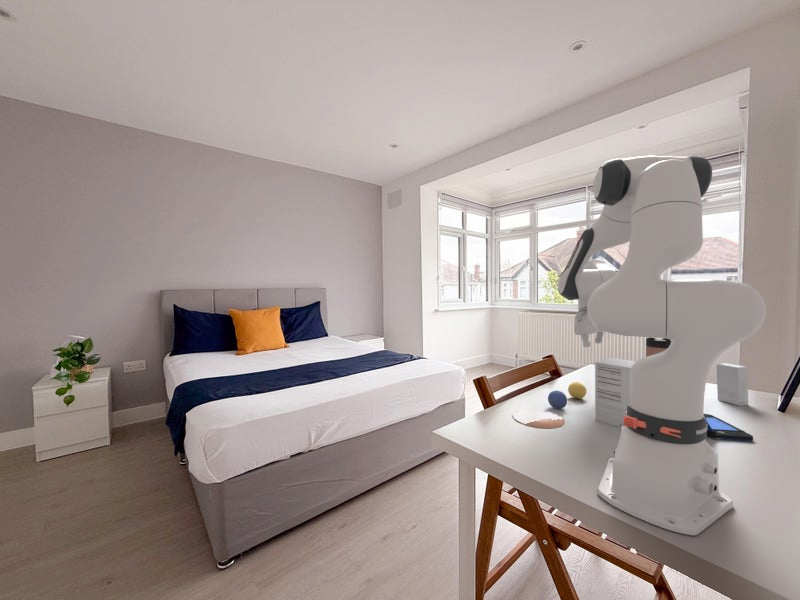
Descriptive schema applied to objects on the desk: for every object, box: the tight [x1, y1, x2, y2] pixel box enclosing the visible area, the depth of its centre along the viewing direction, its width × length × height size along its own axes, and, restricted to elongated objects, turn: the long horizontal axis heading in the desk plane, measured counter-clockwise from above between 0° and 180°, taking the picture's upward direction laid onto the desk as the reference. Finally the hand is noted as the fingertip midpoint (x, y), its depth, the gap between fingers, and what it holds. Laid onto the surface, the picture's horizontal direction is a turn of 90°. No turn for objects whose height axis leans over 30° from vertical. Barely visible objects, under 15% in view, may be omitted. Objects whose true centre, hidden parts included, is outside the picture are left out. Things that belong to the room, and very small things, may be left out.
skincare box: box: [716, 362, 749, 407], centre depth 106 cm, size 6×4×12 cm
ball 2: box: [567, 381, 587, 400], centre depth 112 cm, size 6×6×6 cm
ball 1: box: [547, 390, 568, 410], centre depth 104 cm, size 6×6×6 cm
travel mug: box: [645, 337, 671, 357], centre depth 111 cm, size 8×8×20 cm
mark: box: [525, 418, 565, 429], centre depth 96 cm, size 14×14×1 cm
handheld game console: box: [703, 413, 754, 442], centre depth 88 cm, size 16×13×9 cm
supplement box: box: [594, 357, 637, 428], centre depth 93 cm, size 10×9×17 cm
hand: (592, 345), depth 117 cm, fingers open, 8 cm apart
